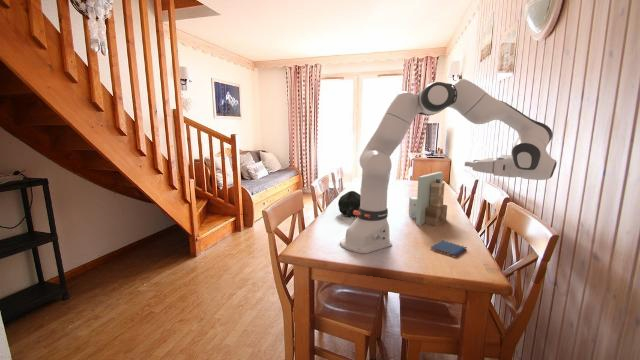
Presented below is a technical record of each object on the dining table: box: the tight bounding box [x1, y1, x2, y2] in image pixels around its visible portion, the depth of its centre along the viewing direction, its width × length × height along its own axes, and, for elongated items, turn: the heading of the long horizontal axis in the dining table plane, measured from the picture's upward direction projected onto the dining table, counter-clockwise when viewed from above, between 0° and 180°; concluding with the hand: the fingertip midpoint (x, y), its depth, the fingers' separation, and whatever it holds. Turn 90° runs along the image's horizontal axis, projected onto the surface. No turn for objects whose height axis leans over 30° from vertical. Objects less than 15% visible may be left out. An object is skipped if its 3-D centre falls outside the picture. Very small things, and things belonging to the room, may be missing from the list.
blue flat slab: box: [429, 240, 468, 258], centre depth 115 cm, size 10×11×2 cm
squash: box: [337, 190, 360, 218], centre depth 159 cm, size 14×15×15 cm
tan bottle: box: [430, 179, 446, 208], centre depth 146 cm, size 6×4×14 cm
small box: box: [408, 196, 417, 219], centre depth 156 cm, size 8×6×10 cm
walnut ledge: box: [424, 204, 448, 227], centre depth 148 cm, size 12×6×8 cm, turn 133°
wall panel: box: [415, 171, 444, 226], centre depth 149 cm, size 22×2×24 cm, turn 133°
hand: (469, 162), depth 129 cm, fingers open, 8 cm apart
